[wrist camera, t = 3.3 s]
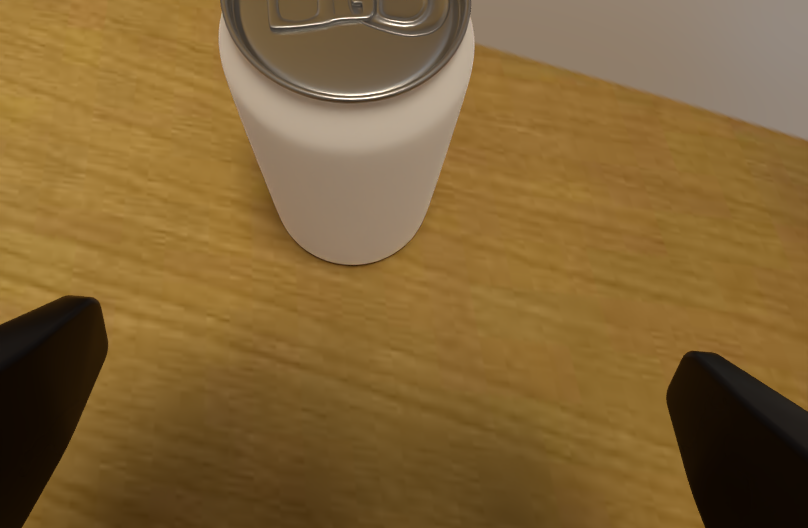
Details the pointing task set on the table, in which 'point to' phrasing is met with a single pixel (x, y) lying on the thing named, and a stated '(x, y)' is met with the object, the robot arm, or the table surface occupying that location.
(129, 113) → the table surface
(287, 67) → the can
